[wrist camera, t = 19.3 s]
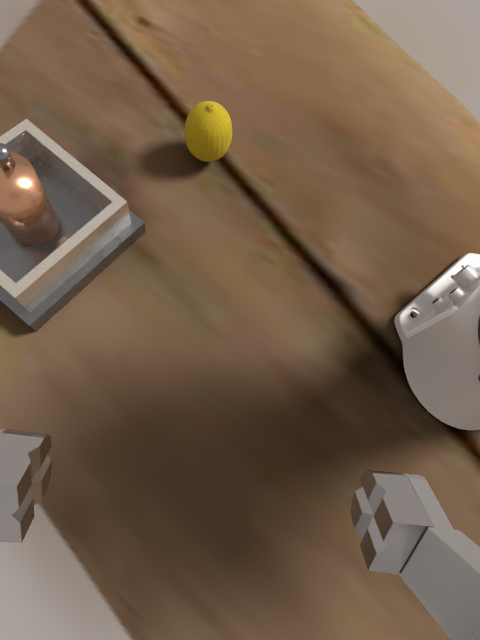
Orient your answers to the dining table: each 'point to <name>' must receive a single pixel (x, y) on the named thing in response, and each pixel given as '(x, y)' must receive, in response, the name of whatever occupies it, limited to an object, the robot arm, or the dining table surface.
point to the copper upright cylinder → (24, 201)
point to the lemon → (208, 131)
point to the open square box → (62, 231)
